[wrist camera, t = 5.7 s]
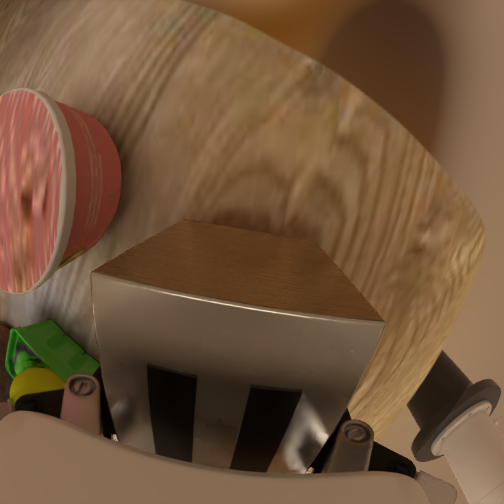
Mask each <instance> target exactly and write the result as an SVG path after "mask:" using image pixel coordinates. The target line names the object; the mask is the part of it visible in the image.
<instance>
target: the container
mask: <svg viewBox="0 0 504 504" xmlns="http://www.w3.org/2000/svg"><path fill="white" fill-rule="evenodd" d="M121 184H122V172H121V162H120V159H119V155H118V151H117V149H116V147H115V144H114V142H113V140H112V138H111V136H110V135H109V133H108V131H107V130H106V129H105V127H104V126H103V125H102V124H101V122H99V121H98V120H97V119H95V118H94V117H93V116H91V115H89V114H87V113H84V112H82V111H79V110H77V109H74V108H72V107H69V106H67V105H64V104H62V103H59V102H56V101H54V100H53V99H52V98H50V97H49V96H48V95H47V94H46V93H43V92H40V91H37V90H34V89H31V88H27V87H25V88H15V89H13V90H10V91H8V92H6V93H4V94H3V95H1V96H0V289H1V290H2V291H5V292H8V293H11V294H25V293H28V292H30V291H32V290H35V289H36V288H38V287H40V286H41V285H42V284H43V283H45V282H46V281H47V280H48V279H49V278H50V277H51V276H52V275H53V273H54V272H55V271H57V270H58V269H60V268H62V267H63V266H65V265H66V264H68V263H69V262H71V261H72V260H74V259H76V258H77V257H79V256H80V255H82V254H84V253H85V252H87V251H88V250H89V249H91V248H92V247H93V246H95V245H96V243H97V242H98V241H99V240H100V239H101V238H102V236H103V235H104V233H105V232H106V230H107V228H108V226H109V224H110V223H111V221H112V219H113V217H114V214H115V212H116V209H117V206H118V203H119V198H120V194H121Z"/></svg>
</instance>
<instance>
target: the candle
mask: <svg viewBox="0 0 504 504" xmlns="http://www.w3.org/2000/svg"><path fill="white" fill-rule="evenodd" d="M9 337H10V330H9V329H8V328H7V327H5V326H3V325H1V324H0V402H7V400H8V399H10V388H11V384H12V382H13V380H14V379H13V378H12V377H11V375H10V374H9V373H8V371H7V369H6V367H5V360H6V353H7V346H8V341H9Z"/></svg>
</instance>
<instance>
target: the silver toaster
mask: <svg viewBox="0 0 504 504" xmlns="http://www.w3.org/2000/svg"><path fill="white" fill-rule="evenodd" d="M91 292H92V307H93V318H94V328H95V336H96V344H97V351H98V357H99V363H100V369H101V374H102V379H103V384H104V389H105V394H106V398H107V402H108V407H109V411H110V414H111V418H112V422H113V426H114V429H115V432H116V436H117V439H118V442H119V443H122V444H125V445H128V446H131V447H134V448H137V449H140V450H143V451H147V452H150V453H154V454H157V455H161V456H165V457H169V458H173V459H177V460H181V461H186V462H190V463H195V464H200V465H206V466H212V467H218V468H225V469H232V470H241V471H251V472H263V473H283V474H305V473H306V472H307V471H308V469H309V468H310V466H311V465H312V464H313V462H314V461H315V459H316V458H317V456H318V455H319V453H320V452H321V450H322V449H323V447H324V446H325V444H326V442H327V441H328V439H329V438H330V436H331V434H332V433H333V431H334V429H335V428H336V426H337V424H338V423H339V421H340V419H341V417H342V416H343V414H344V412H345V410H346V408H347V407H348V405H349V403H350V401H351V399H352V397H353V395H354V393H355V392H356V390H357V388H358V386H359V384H360V382H361V380H362V377H363V375H364V373H365V371H366V369H367V367H368V365H369V363H370V360H371V358H372V356H373V354H374V351H375V349H376V347H377V344H378V342H379V340H380V337H381V335H382V332H383V330H384V327H385V321H384V320H383V319H382V318H381V317H380V315H379V314H378V313H377V312H376V311H375V309H374V308H373V307H372V306H371V305H370V303H369V302H368V301H367V300H366V299H365V297H364V296H363V295H362V294H361V293H360V292H359V290H358V289H357V288H356V287H355V286H354V285H353V283H352V282H351V281H350V280H349V279H348V278H347V277H346V275H345V274H344V273H343V272H342V271H341V270H340V269H339V268H338V266H337V265H336V264H335V263H334V262H333V261H332V260H331V259H330V257H329V256H328V255H327V254H326V253H325V252H324V251H323V250H322V249H321V248H320V246H319V245H318V244H317V243H316V242H313V241H308V240H302V239H297V238H291V237H286V236H280V235H275V234H269V233H264V232H258V231H252V230H246V229H241V228H235V227H229V226H223V225H217V224H211V223H205V222H199V221H192V220H186V219H184V220H182V221H180V222H178V223H176V224H174V225H173V226H171V227H169V228H167V229H165V230H163V231H161V232H160V233H158V234H156V235H154V236H152V237H151V238H149V239H147V240H145V241H143V242H142V243H140V244H138V245H136V246H134V247H133V248H131V249H129V250H127V251H126V252H124V253H122V254H121V255H119V256H117V257H115V258H114V259H112V260H110V261H109V262H107V263H105V264H104V265H102V266H100V267H99V268H97V269H95V270H94V271H92V273H91Z"/></svg>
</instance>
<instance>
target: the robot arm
mask: <svg viewBox="0 0 504 504" xmlns="http://www.w3.org/2000/svg"><path fill="white" fill-rule="evenodd" d="M491 408H492V406H491V404H490V402H489V401H487V400H484V401H480V402H478V403H476V404H474V405H473V406H471V407H469V408H468V409H466V410H465V411H464V412H462V413H461V414H460V415H459V416H457V417H456V418H455V419H454V420H453V421H451V422H450V423H449V424H448V425H447V426H446V427H445V428H444V429H443V430H442V431H441V432H440V434H439V435H438V436H437V437H436V439H435V440H434V441H433V443H432V445H431V452H432V453H433V455H435V456H439V455H443V454H444V456H445V458H446V460H447V462H448V463H449V465H450V467H451V469H452V471H453V473H454V475H455V477H456V479H457V481H458V483H459V485H460V487H461V488H462V491H463V493H464V495H465V497H466V499H467V501H468V503H469V504H504V437H503V436H502V434H501V433H500V431H499V430H498V429H497V425H498V420H497V419H496V420H493V421H492V419H491V418H490V417H489V414H490V412H491ZM113 434H116V432H115V429H114V426H113V422H112V418H111V414H110V411H109V407H108V402H107V398H106V394H105V389H104V384H103V379H102V374H101V369H100V366H99V367H98V369H97V370H96V371H95V372H94V374H93V375H89V374H85V373H79V374H75V375H73V376H71V377H69V378H68V380H67V381H66V384H65V388H64V389H58V390H52V391H45V392H38V393H31V394H25V395H22V396H21V397H19V398H18V399H17V400H16V402H15V403H14V404H12V402H11V401H7V402H0V504H454V503H455V500H456V498H457V490H456V489H455V487H454V486H453V485H451V484H449V483H447V482H444V481H443V480H440V479H438V478H436V477H434V476H432V475H430V474H427V473H425V472H423V471H421V470H420V472H417V471H416V467H415V465H414V464H413V462H412V461H411V460H409V459H408V458H406V457H404V456H402V455H399V454H398V453H396V452H394V451H392V450H390V449H388V448H386V447H384V446H382V445H380V444H379V443H377V442H375V441H373V440H374V432H373V430H372V428H371V427H370V426H369V425H368V424H367V423H365V422H363V421H360V420H355V419H354V420H351V417H350V414H349V411H348V408H346V410H345V412H344V414H343V416H342V417H341V419H340V421H339V423H338V424H337V426H336V428H335V429H334V431H333V433H332V434H331V436H330V438H329V439H328V441H327V442H326V444H325V446H324V447H323V449H322V450H321V452H320V453H319V455H318V456H317V458H316V459H315V461H314V462H313V464H312V465H311V466H310V467H312V468H313V469H312V472H311V474H283V473H263V472H251V471H241V470H232V469H225V468H218V467H212V466H206V465H200V464H195V463H190V462H186V461H181V460H177V459H173V458H169V457H165V456H161V455H157V454H154V453H150V452H147V451H143V450H140V449H137V448H134V447H131V446H128V445H125V444H122V443H119V442H117V441H114V440H113Z"/></svg>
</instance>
